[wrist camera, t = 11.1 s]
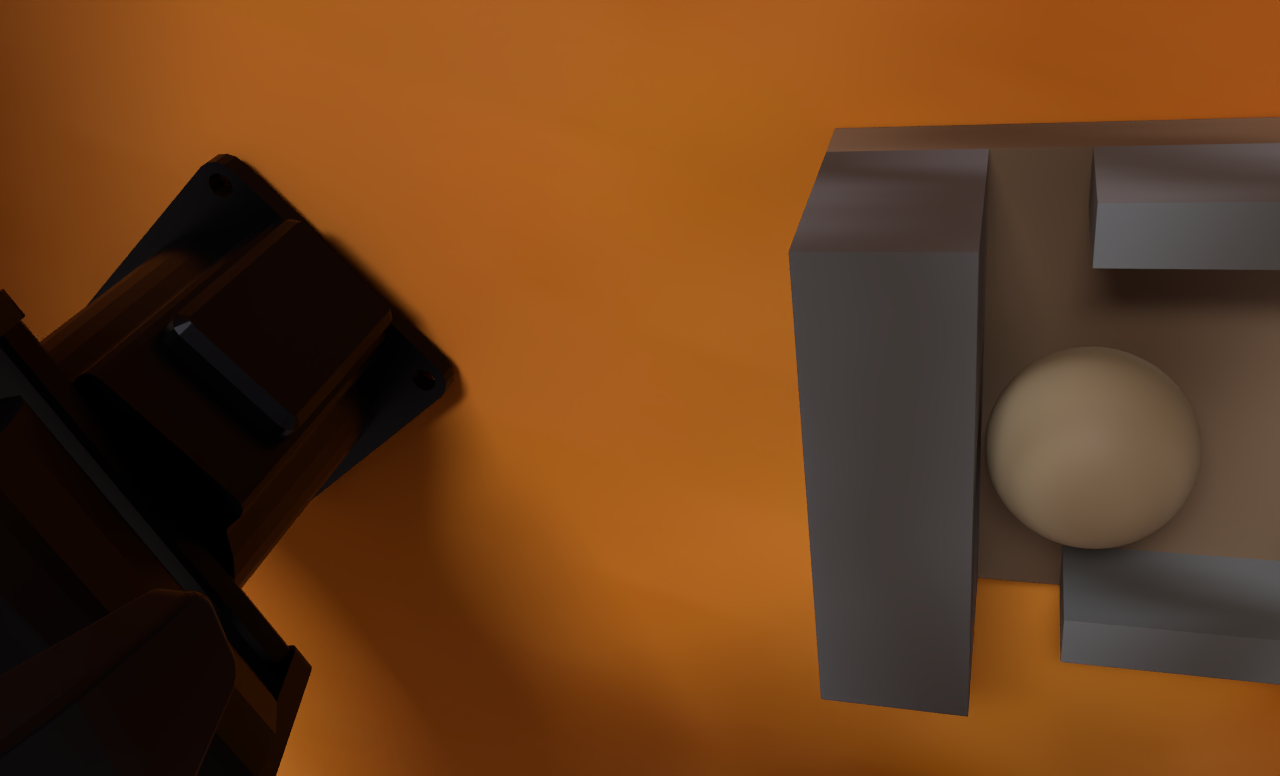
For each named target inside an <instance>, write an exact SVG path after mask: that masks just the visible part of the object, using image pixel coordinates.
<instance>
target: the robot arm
mask: <svg viewBox="0 0 1280 776" xmlns="http://www.w3.org/2000/svg"><path fill="white" fill-rule="evenodd" d="M220 174H222V175H223V176H225V177H226V178H227V179H228V180H229V182H230V183H231V185H232V189H231V188H230V187H228V186H226V185H225V184H224V182H223V181H222V179H221V176H220ZM24 317H25V315H24V313H23V312H22V311H21V310H20V309H19V307H18V306H17V305H16V304H15V302H14V301H13V300H12V299H11V297H10V296H9V295H8V294H7V293H6V291H5V290H4V289H2V290H0V776H276V774H277V771H278V768H279V765H280V762H281V759H282V756H283V753H284V750H285V747H286V744H287V741H288V738H289V735H290V732H291V729H292V727H293V724H294V721H295V718H296V715H297V712H298V709H299V706H300V703H301V700H302V697H303V694H304V691H305V688H306V685H307V682H308V679H309V676H310V673H311V670H312V666H311V665H310V664H309V663H308V662H307V660H306V659H305V658H304V657H303V655H302V654H301V653H300V652H299V651H298V649H297V648H296V647H295V646H294V645H290V646H288V645H287V644H286V643H285V642H284V640H283V639H282V638H281V637H280V635H279V634H278V633H277V632H276V631H275V629H274V628H273V627H272V626H271V624H270V623H269V622H268V621H267V620H266V618H265V617H264V616H263V615H262V613H261V612H260V611H259V610H258V609H257V607H256V606H255V605H254V604H253V602H252V601H251V600H250V599H249V598H248V596H247V595H246V594H245V593H244V591H243V590H242V589H241V588H242V587H243V586H244V584H245V583H246V582H247V581H248V579H249V578H250V577H251V576H252V574H253V573H254V572H255V571H256V569H257V568H258V567H259V565H260V564H261V563H262V562H263V560H264V559H265V558H266V557H267V555H268V554H269V553H270V552H271V550H272V549H273V548H274V546H275V545H276V544H277V543H278V541H279V540H280V539H281V538H282V536H283V535H284V534H285V533H286V531H287V530H288V529H289V528H290V526H291V525H292V524H293V522H294V521H295V520H296V519H297V517H298V516H299V515H300V514H301V512H302V511H303V510H304V509H305V507H306V506H307V505H308V503H309V502H310V501H311V500H312V499H313V498H314V497H316V496H317V495H318V494H319V493H321V492H322V491H323V490H324V489H326V488H327V487H328V486H329V485H331V484H332V483H333V482H335V481H336V480H337V479H338V478H340V477H341V476H342V475H343V474H345V473H346V472H347V471H348V470H350V469H351V468H352V467H353V466H355V465H356V464H357V463H358V462H360V461H361V460H362V459H363V458H365V457H366V456H367V455H369V454H370V453H371V452H372V451H374V450H375V449H376V448H377V447H379V446H380V445H381V444H382V443H384V442H385V441H386V440H387V439H389V438H390V437H391V436H392V435H394V434H395V433H396V432H397V431H399V430H400V429H401V428H403V427H404V426H405V425H406V424H408V423H409V422H410V421H411V420H413V419H414V418H415V417H416V416H418V415H419V414H420V413H421V412H423V411H424V410H425V409H426V408H428V407H429V406H430V405H431V404H433V403H434V402H435V401H437V400H438V399H439V398H440V397H441V396H442V395H443V394H444V392H445V391H446V390H447V388H448V387H449V385H450V384H451V383H452V381H453V376H454V373H453V370H452V366H451V365H450V363H449V362H448V361H447V359H446V358H445V357H444V356H443V355H442V354H441V353H440V352H439V351H438V350H437V349H436V348H435V347H433V346H432V345H431V344H430V343H429V342H428V341H427V340H426V339H425V338H424V337H423V336H422V335H421V334H420V333H419V332H418V331H417V330H416V329H415V328H414V327H413V326H412V325H411V324H410V323H409V322H408V321H407V320H406V319H405V318H404V317H403V316H402V315H401V314H399V313H398V312H397V311H396V310H395V309H394V308H393V307H392V306H391V305H390V304H389V303H388V302H387V301H386V300H385V299H384V298H383V297H382V296H381V295H380V294H379V293H378V292H377V291H376V290H375V289H374V288H373V287H372V286H371V285H370V284H369V283H368V282H366V281H365V280H364V279H363V278H362V277H361V276H360V275H359V274H358V273H357V272H356V271H355V270H354V269H353V268H352V267H351V266H350V265H349V264H348V263H347V262H346V261H345V260H344V259H343V258H342V257H341V256H340V255H339V254H338V253H337V252H336V251H335V250H333V249H332V248H331V247H330V246H329V245H328V244H327V243H326V242H325V241H324V240H323V239H322V238H321V237H320V236H319V235H318V234H317V233H316V232H315V231H314V230H313V229H312V228H311V227H310V226H309V225H308V224H307V223H306V222H305V221H304V220H303V219H302V218H301V217H299V216H298V215H297V214H296V213H295V212H294V211H293V210H292V209H291V208H290V207H289V206H288V205H287V204H286V203H285V202H284V201H283V200H282V199H281V198H280V197H279V196H278V195H277V194H276V193H275V192H274V191H273V190H272V189H271V188H270V187H269V186H268V185H266V184H265V183H264V182H263V181H262V180H261V179H260V178H259V177H258V176H257V175H256V174H255V173H254V172H253V171H252V170H251V169H250V168H249V167H248V166H247V165H246V164H245V163H244V162H242V161H241V160H240V159H238V158H237V157H235V156H232V155H229V154H219V155H217V156H216V157H214V158H213V159H211V160H210V161H209V162H207V163H206V164H204V165H203V166H201V167H200V169H199V170H198V171H197V172H196V173H195V175H194V176H193V177H192V178H191V180H190V181H189V182H188V183H187V184H186V186H185V187H184V188H183V189H182V190H181V192H180V193H179V194H178V195H177V197H176V198H175V199H174V200H173V201H172V203H171V204H170V205H169V206H168V207H167V209H166V210H165V211H164V212H163V214H162V215H161V216H160V217H159V218H158V220H157V221H156V222H155V223H154V225H153V226H152V227H151V228H150V229H149V231H148V232H147V233H146V234H145V235H144V237H143V238H142V239H141V240H140V242H139V243H138V244H137V245H136V246H135V248H134V249H133V250H132V251H131V252H130V254H129V255H128V256H127V257H126V259H125V260H124V261H123V262H122V263H121V265H120V266H119V267H118V268H117V269H116V271H115V272H114V273H113V274H112V276H111V277H110V278H109V279H108V280H107V282H106V283H105V284H104V285H103V287H102V288H101V289H100V290H99V291H98V293H97V294H96V295H95V296H94V297H93V299H92V300H91V301H90V302H89V304H88V305H87V306H86V307H85V308H84V309H82V310H81V311H80V312H78V313H77V314H76V315H75V316H73V317H72V318H71V319H69V320H68V321H67V322H65V323H64V324H63V325H61V326H60V327H59V328H58V329H56V330H55V331H54V332H52V333H51V334H50V335H48V336H47V337H46V338H45V339H43V340H42V341H41V342H39V341H38V340H37V339H36V337H35V336H34V335H33V334H32V333H31V331H30V330H29V329H28V328H27V326H26V325H25V324H24V323H23V322H22V320H21V319H23V318H24ZM421 370H425V371H427V372H428V373H430V374H431V375H432V376H433V378H434V379H435V380H431V379H429V378H427V377H426V376H424V374H423V373H422V371H421Z"/></svg>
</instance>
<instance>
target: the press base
mask: <svg viewBox="0 0 1280 776" xmlns="http://www.w3.org/2000/svg"><path fill="white" fill-rule="evenodd" d="M789 262H790V276H791V290H792V303H793V317H794V331H795V345H796V359H797V372H798V386H799V400H800V414H801V428H802V441H803V455H804V469H805V483H806V497H807V510H808V524H809V538H810V552H811V566H812V579H813V593H814V607H815V621H816V635H817V648H818V662H819V676H820V690H821V699H825V700H833V701H842V702H850V703H858V704H867V705H875V706H883V707H892V708H900V709H909V710H917V711H925V712H934V713H942V714H950V715H959V716H967V717H968V710H969V695H970V680H971V666H972V651H973V636H974V622H975V607H976V592H977V578H986V579H998V580H1010V581H1021V582H1033V583H1045V584H1057V585H1060V651H1061V662H1067V663H1077V664H1086V665H1096V666H1106V667H1115V668H1125V669H1135V670H1144V671H1154V672H1163V673H1173V674H1183V675H1192V676H1202V677H1212V678H1221V679H1231V680H1241V681H1250V682H1260V683H1269V684H1279V685H1280V117H1268V118H1229V119H1189V120H1150V121H1110V122H1071V123H1031V124H992V125H952V126H913V127H873V128H835V130H834V133H833V136H832V138H831V141H830V144H829V146H828V149H827V152H826V154H825V157H824V160H823V162H822V165H821V167H820V170H819V173H818V175H817V178H816V181H815V183H814V186H813V189H812V191H811V194H810V197H809V199H808V202H807V205H806V207H805V210H804V212H803V215H802V218H801V220H800V223H799V226H798V228H797V231H796V234H795V236H794V239H793V242H792V244H791V247H790V249H789Z"/></svg>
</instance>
